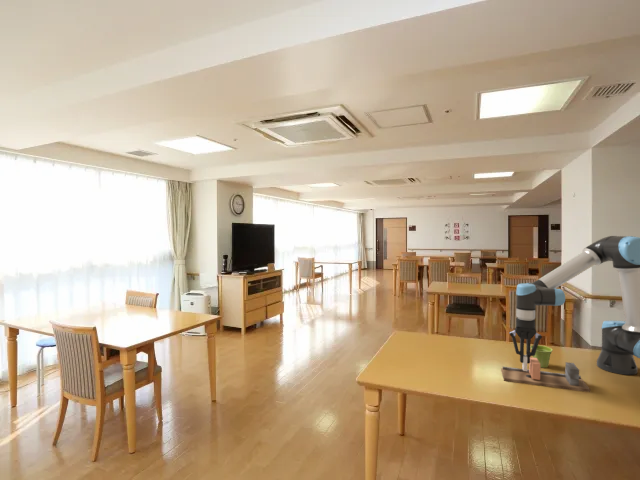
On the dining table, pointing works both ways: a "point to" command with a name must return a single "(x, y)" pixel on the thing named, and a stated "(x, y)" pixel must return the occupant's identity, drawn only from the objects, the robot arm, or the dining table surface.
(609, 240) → the robot arm
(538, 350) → the plant pot
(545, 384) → the board
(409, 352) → the dining table surface
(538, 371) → the sliding point
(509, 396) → the dining table surface
